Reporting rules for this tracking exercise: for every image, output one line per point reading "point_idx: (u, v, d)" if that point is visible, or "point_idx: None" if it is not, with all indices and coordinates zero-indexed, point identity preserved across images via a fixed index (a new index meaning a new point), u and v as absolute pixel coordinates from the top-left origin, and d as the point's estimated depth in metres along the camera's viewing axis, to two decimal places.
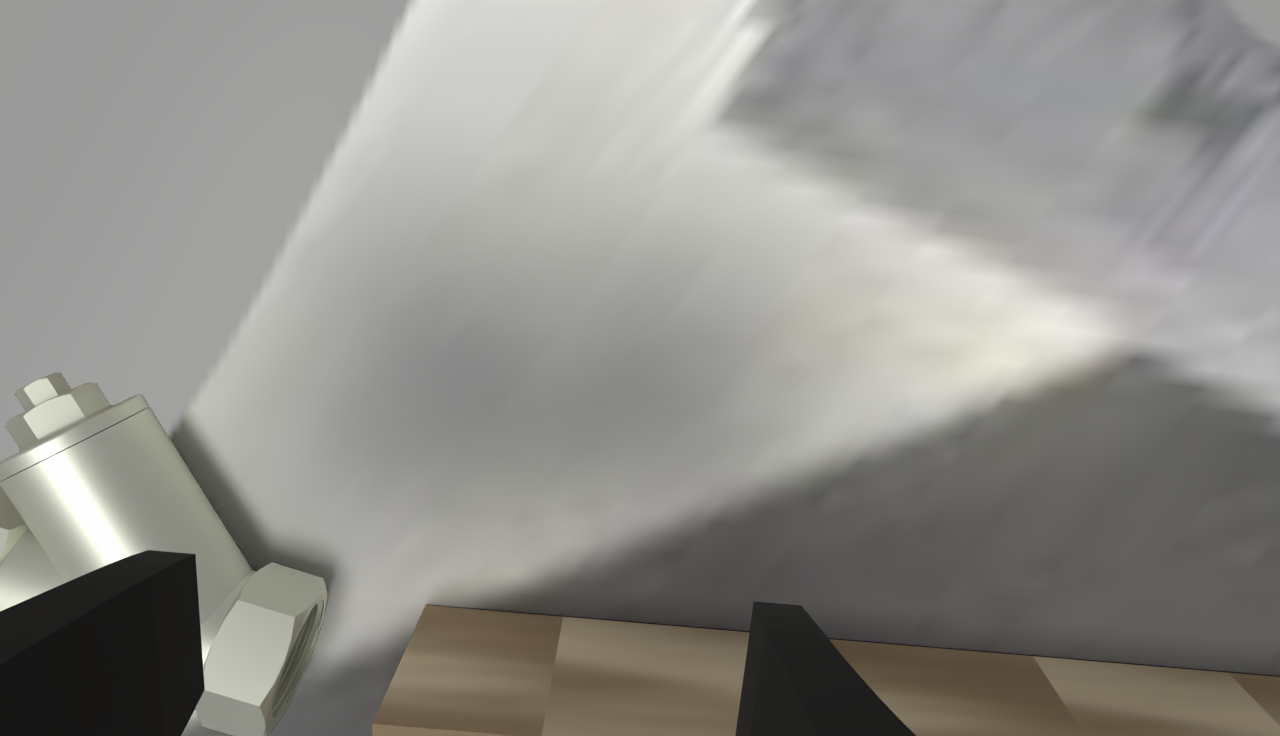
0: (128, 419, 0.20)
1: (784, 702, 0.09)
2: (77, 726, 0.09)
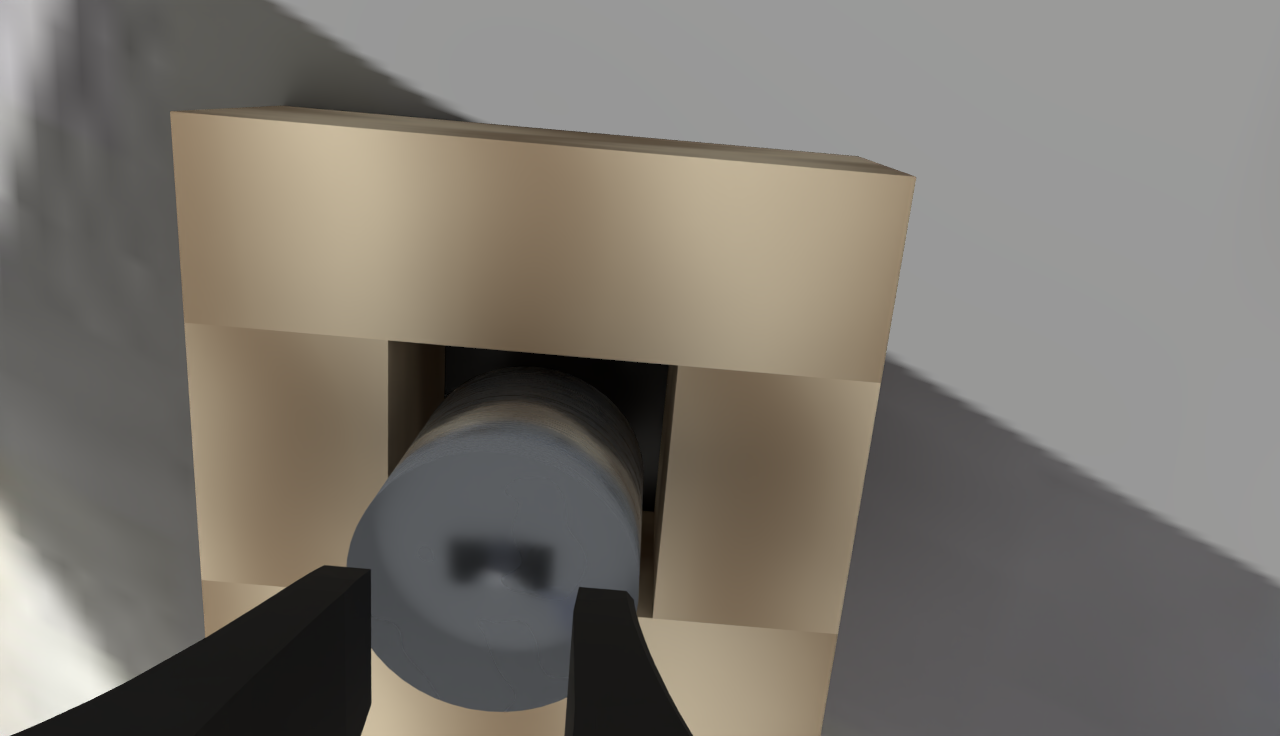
0: None
1: (572, 684, 0.09)
2: None
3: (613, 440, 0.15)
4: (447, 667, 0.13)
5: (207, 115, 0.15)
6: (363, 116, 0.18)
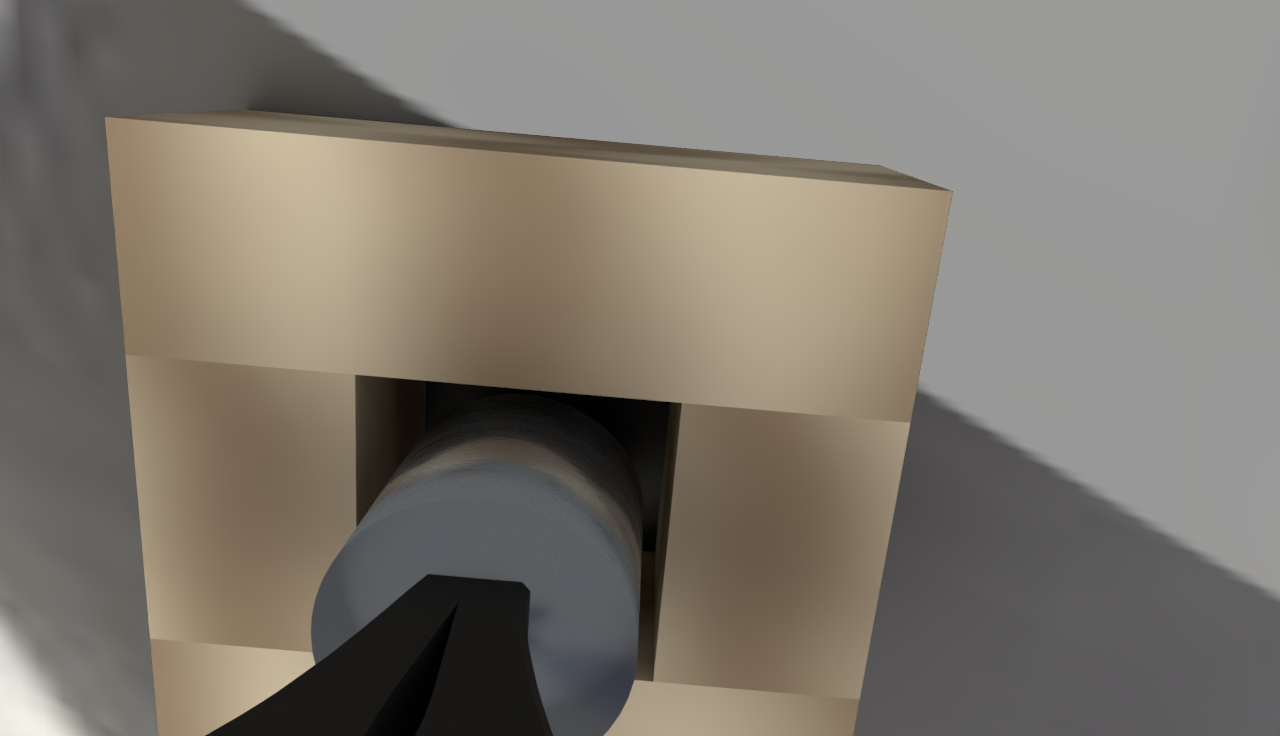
0: None
1: None
2: None
3: (609, 477, 0.14)
4: None
5: (147, 121, 0.13)
6: (332, 121, 0.16)
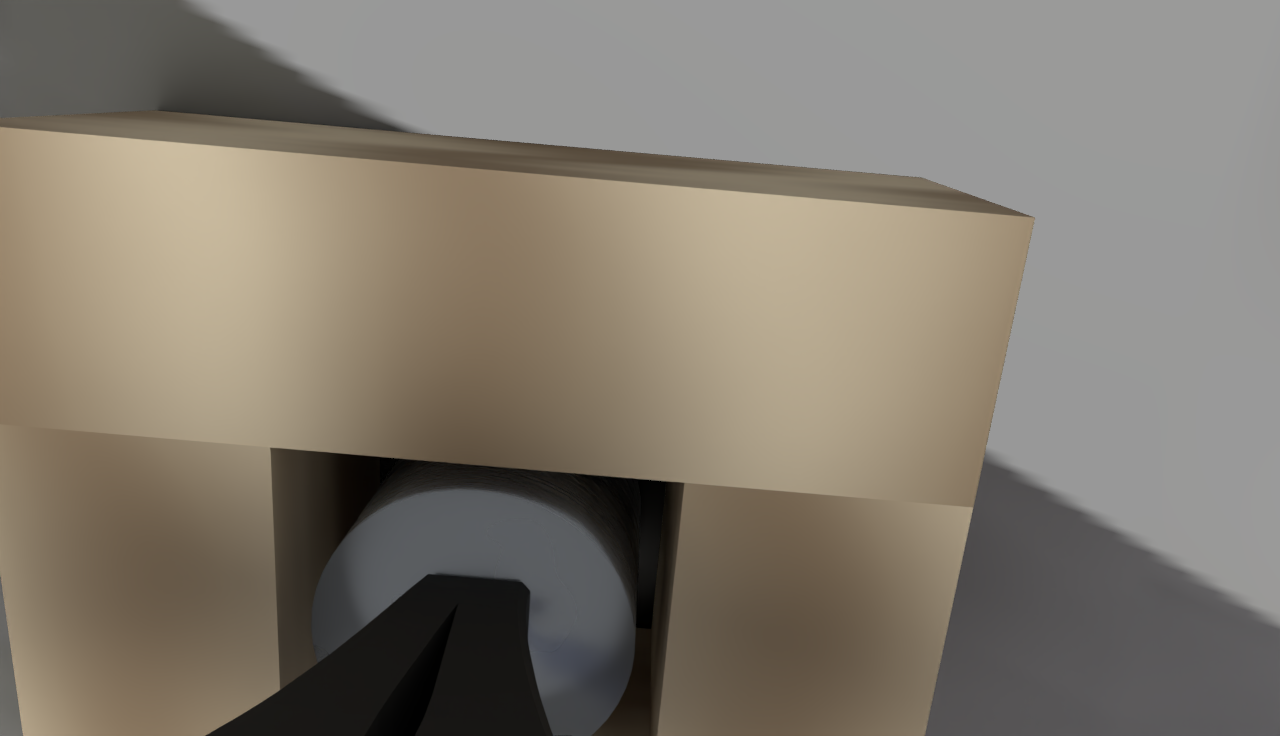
0: None
1: None
2: None
3: None
4: None
5: None
6: (254, 125, 0.13)
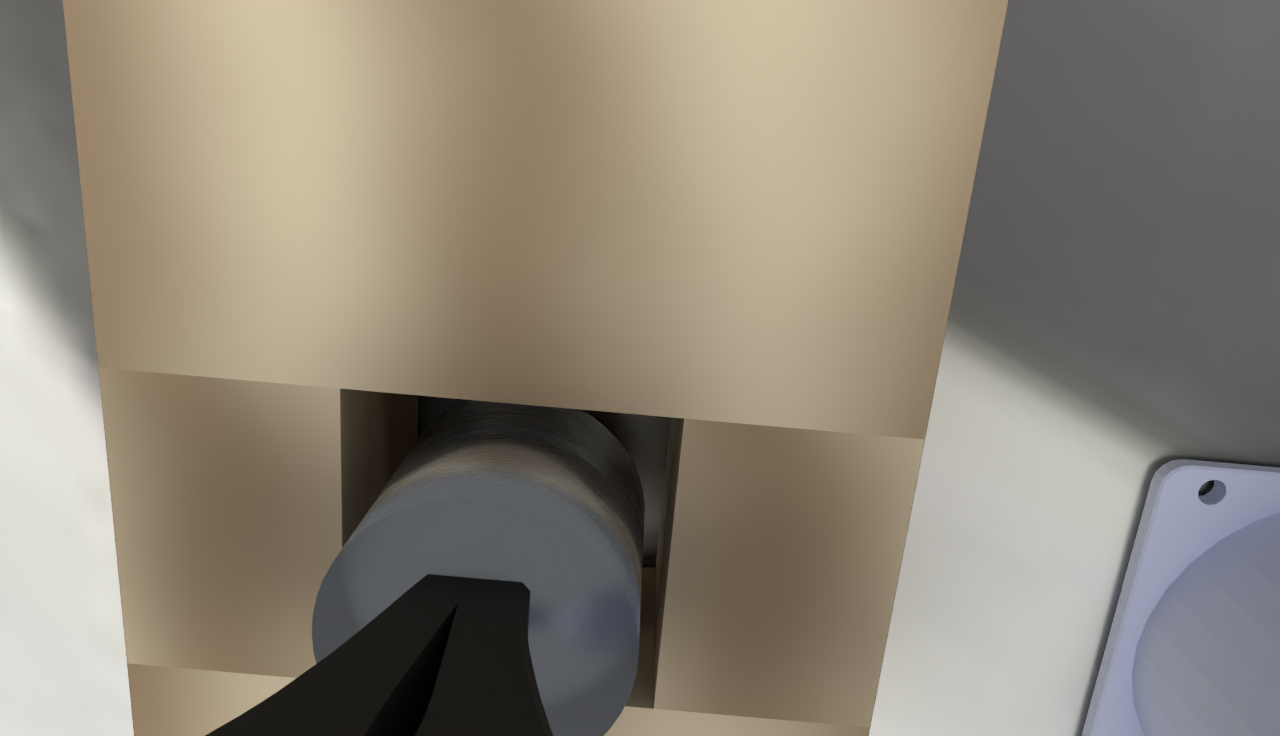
0: None
1: None
2: None
3: None
4: None
5: None
6: None
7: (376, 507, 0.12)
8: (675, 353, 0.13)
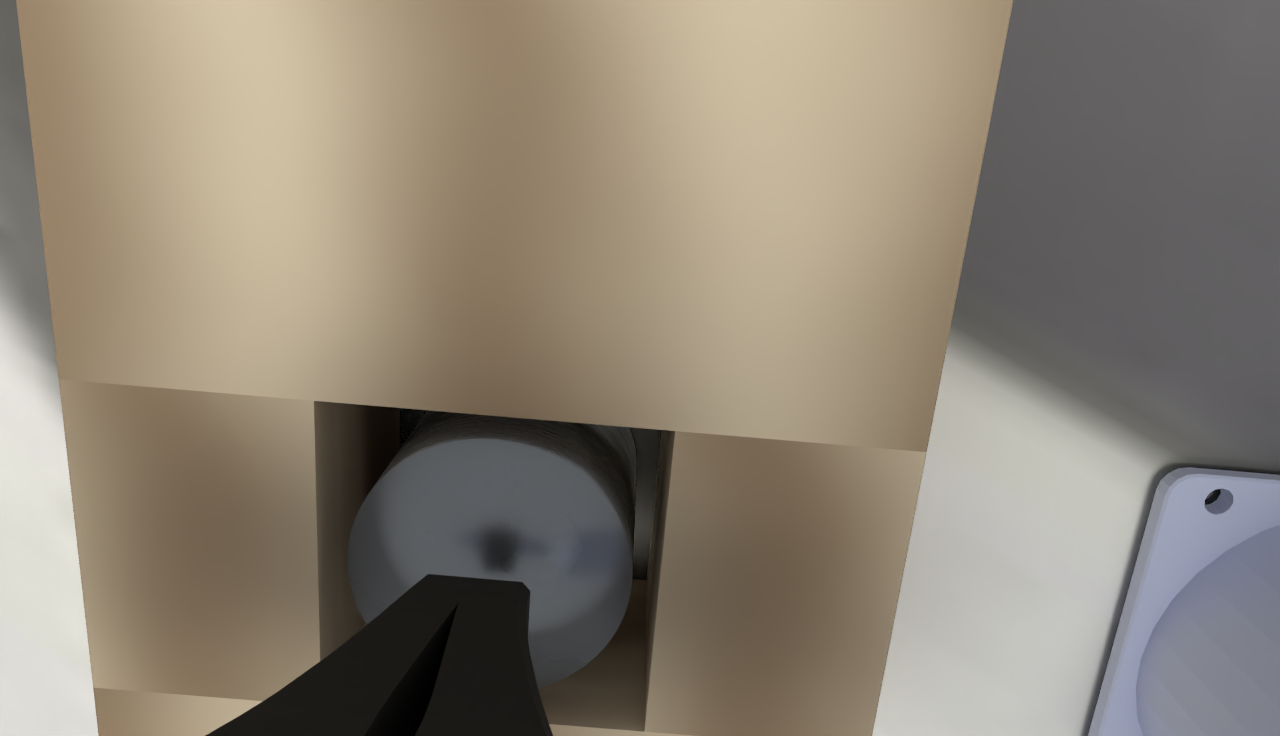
0: None
1: None
2: None
3: None
4: None
5: None
6: None
7: (402, 451, 0.14)
8: (665, 363, 0.12)
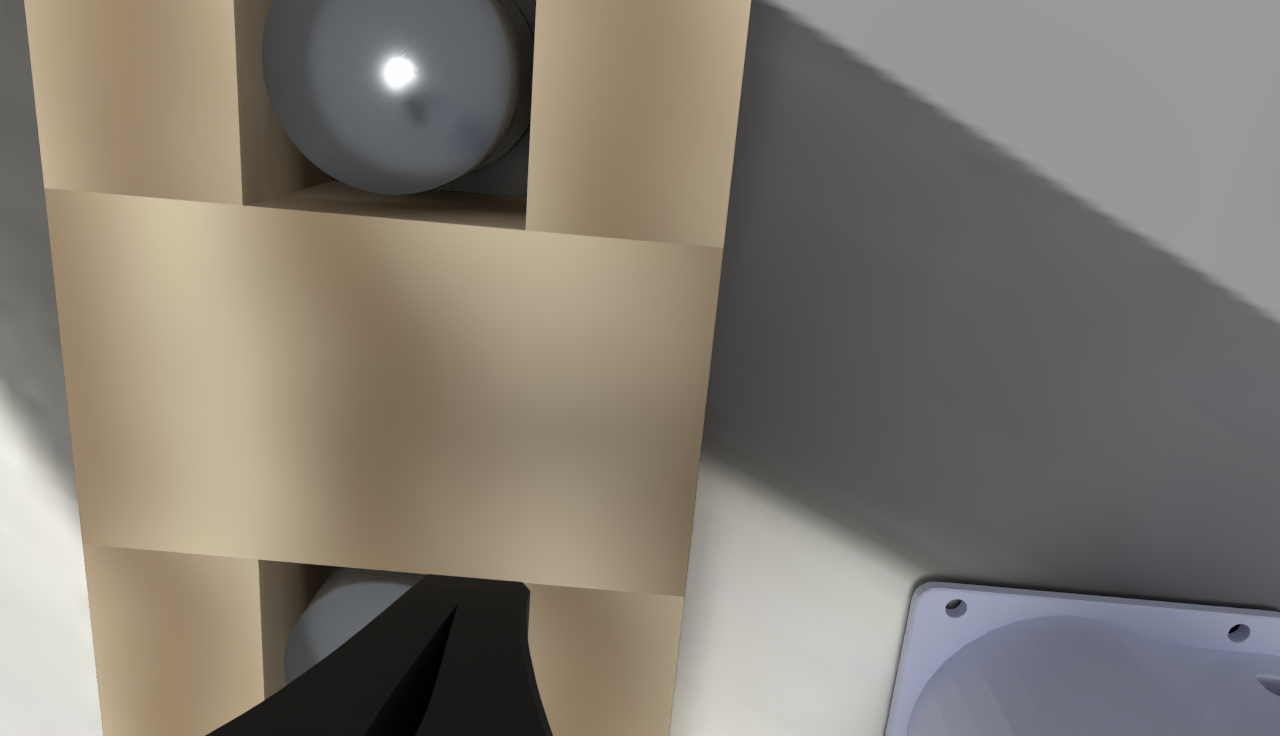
0: None
1: None
2: None
3: None
4: (350, 149, 0.16)
5: None
6: None
7: (324, 587, 0.19)
8: (499, 537, 0.18)
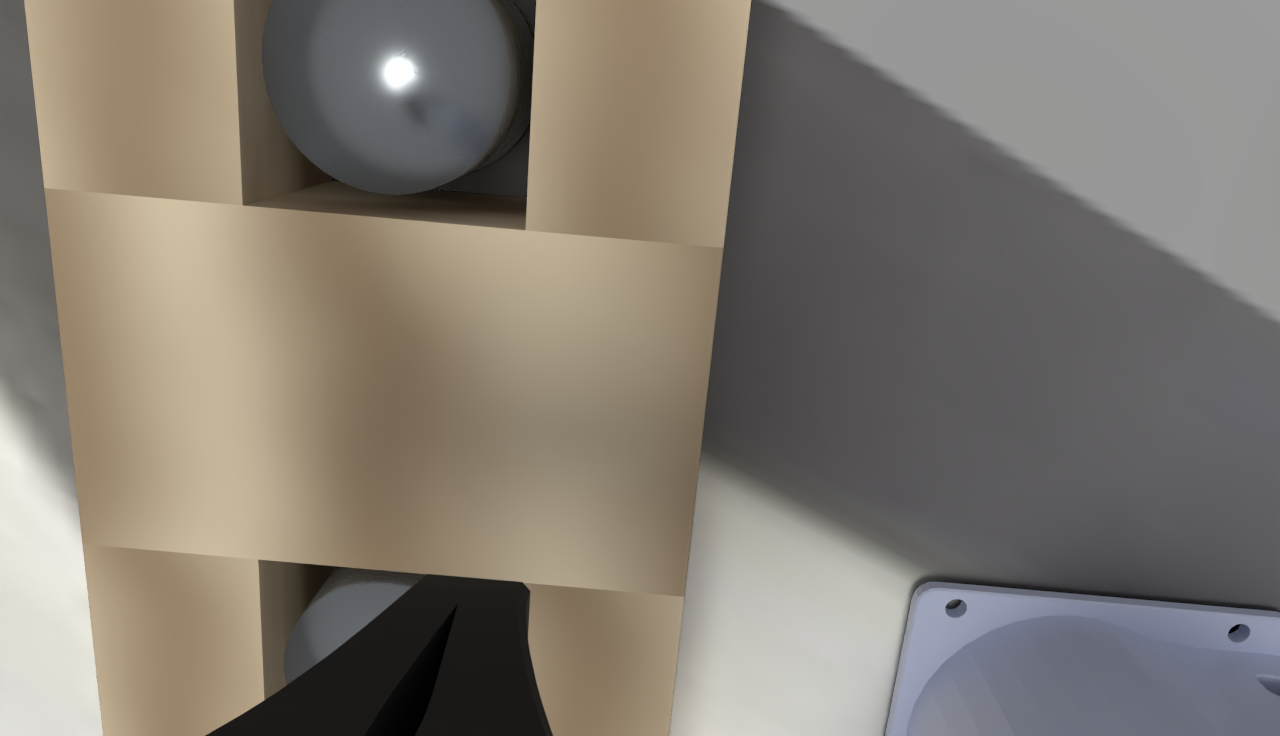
0: None
1: None
2: None
3: None
4: (350, 149, 0.16)
5: None
6: None
7: (324, 587, 0.19)
8: (499, 537, 0.18)
